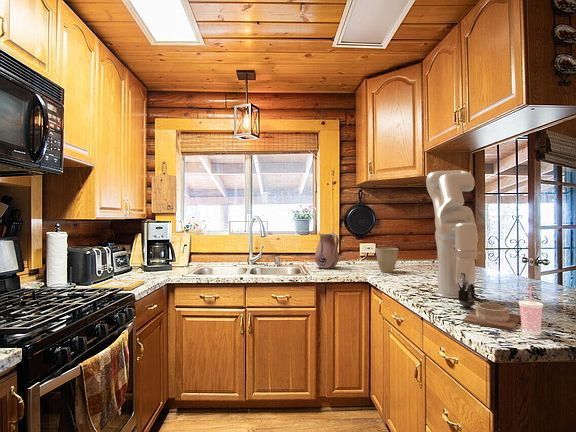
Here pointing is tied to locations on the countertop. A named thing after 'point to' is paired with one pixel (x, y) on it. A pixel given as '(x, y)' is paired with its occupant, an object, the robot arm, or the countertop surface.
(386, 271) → the plant pot
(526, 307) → the beverage cup
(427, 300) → the countertop surface
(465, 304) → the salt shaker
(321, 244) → the ceramic pitcher
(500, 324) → the board
